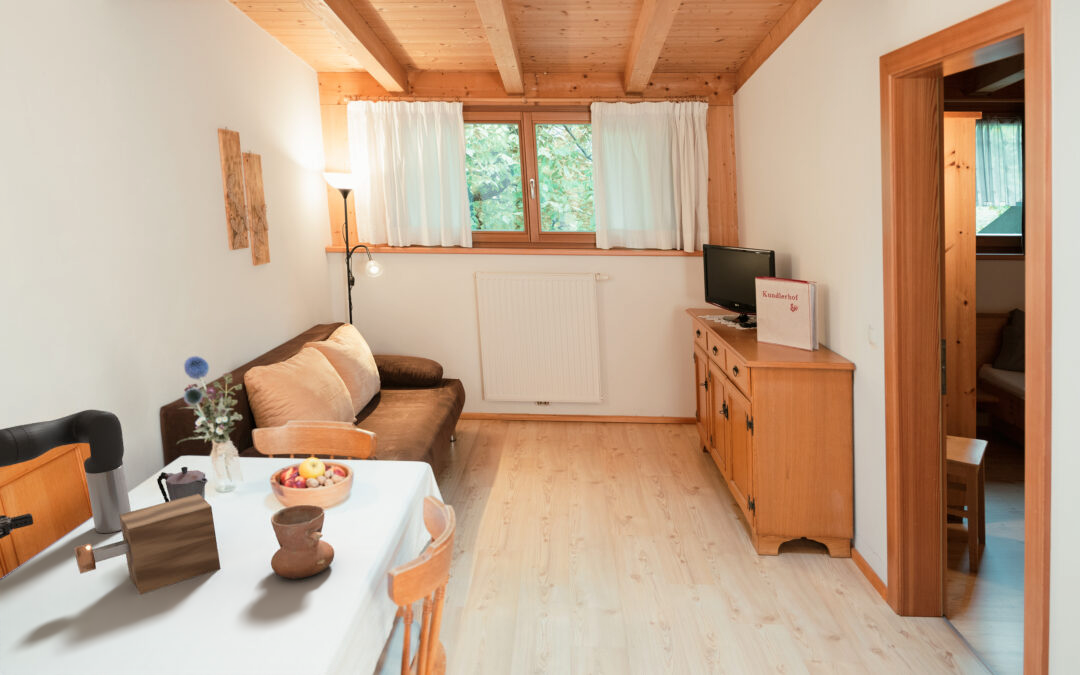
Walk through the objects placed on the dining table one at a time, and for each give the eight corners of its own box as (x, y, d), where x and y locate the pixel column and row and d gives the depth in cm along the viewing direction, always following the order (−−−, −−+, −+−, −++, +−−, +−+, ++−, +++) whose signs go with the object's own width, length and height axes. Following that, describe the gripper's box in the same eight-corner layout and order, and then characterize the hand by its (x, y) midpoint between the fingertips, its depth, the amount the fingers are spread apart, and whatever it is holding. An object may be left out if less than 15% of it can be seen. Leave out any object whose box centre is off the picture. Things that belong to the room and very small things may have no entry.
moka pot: (205, 548, 207) (194, 474, 203) (152, 545, 210) (140, 473, 206) (226, 531, 216) (216, 460, 212) (175, 529, 220) (164, 459, 216)
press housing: (129, 577, 194) (119, 514, 190) (207, 553, 204) (198, 493, 201) (139, 594, 185) (128, 529, 182) (220, 568, 196) (211, 506, 192)
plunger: (77, 568, 184) (73, 543, 183) (176, 539, 197) (173, 516, 196) (82, 577, 180) (77, 552, 178) (183, 547, 192) (179, 523, 191)
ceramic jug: (350, 568, 192) (344, 511, 189) (296, 592, 182) (288, 532, 179) (309, 549, 204) (303, 495, 202) (256, 570, 194) (248, 514, 191)
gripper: (-70, 535, 159) (32, 511, 169) (-71, 516, 169) (26, 493, 179) (-63, 571, 160) (38, 544, 170) (-64, 549, 171) (32, 525, 181)
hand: (32, 518), depth 175 cm, fingers closed
